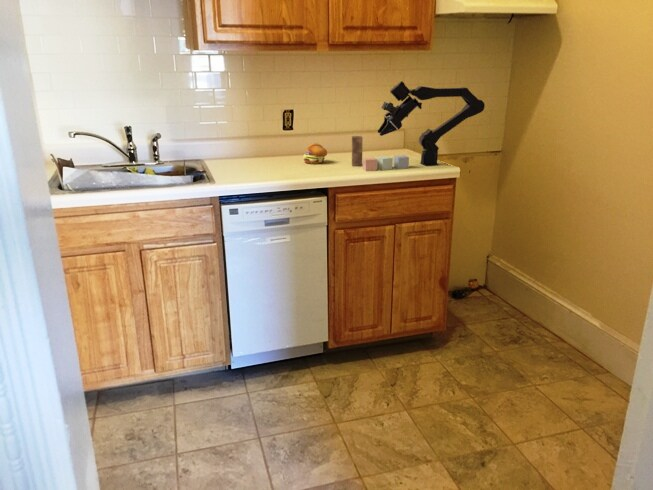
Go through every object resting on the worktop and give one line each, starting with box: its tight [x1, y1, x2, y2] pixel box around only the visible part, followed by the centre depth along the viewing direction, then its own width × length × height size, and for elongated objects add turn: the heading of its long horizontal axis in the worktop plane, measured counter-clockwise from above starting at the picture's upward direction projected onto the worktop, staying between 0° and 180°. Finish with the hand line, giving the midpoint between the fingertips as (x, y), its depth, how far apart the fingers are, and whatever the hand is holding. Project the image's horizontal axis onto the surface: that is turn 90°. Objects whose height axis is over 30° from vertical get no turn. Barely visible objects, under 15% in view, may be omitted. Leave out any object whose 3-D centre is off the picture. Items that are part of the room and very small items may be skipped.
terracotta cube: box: [362, 156, 377, 172], centre depth 240 cm, size 5×5×5 cm
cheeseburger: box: [303, 142, 328, 165], centre depth 256 cm, size 10×11×10 cm
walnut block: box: [351, 135, 364, 167], centre depth 248 cm, size 4×4×13 cm
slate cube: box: [393, 154, 410, 170], centre depth 244 cm, size 5×5×5 cm
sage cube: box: [376, 155, 394, 171], centre depth 242 cm, size 5×5×5 cm
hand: (379, 133), depth 246 cm, fingers open, 9 cm apart
